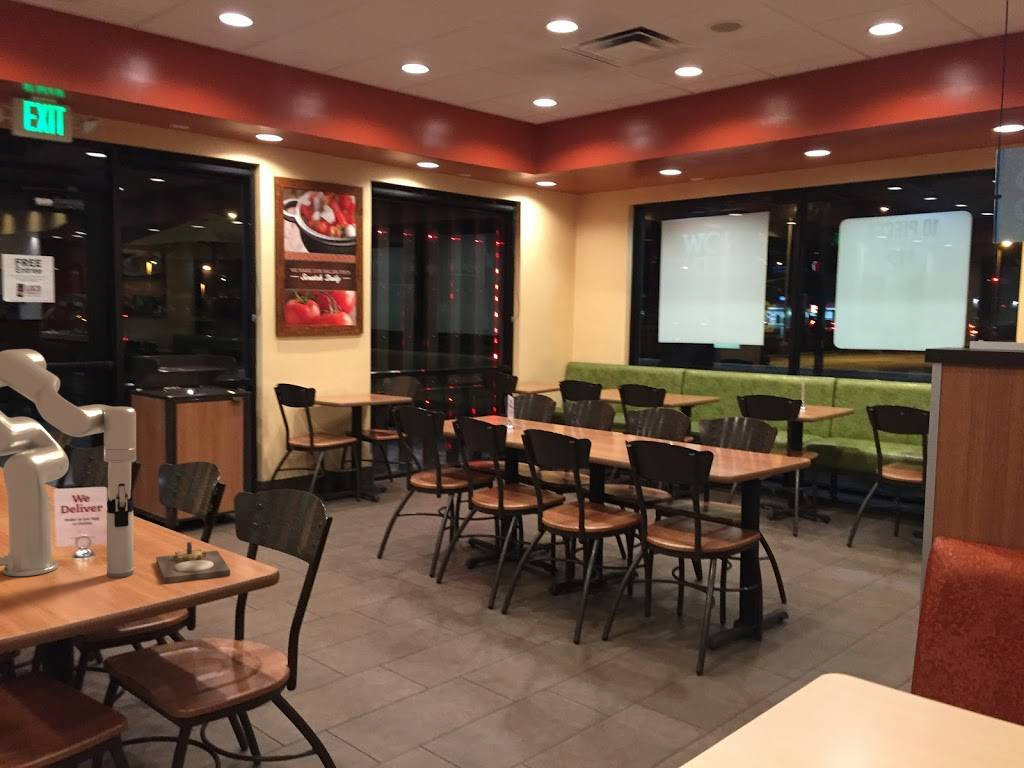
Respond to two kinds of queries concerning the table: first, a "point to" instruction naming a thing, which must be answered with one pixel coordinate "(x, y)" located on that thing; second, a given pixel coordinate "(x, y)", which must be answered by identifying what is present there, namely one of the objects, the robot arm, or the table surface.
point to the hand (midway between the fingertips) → (120, 522)
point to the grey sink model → (191, 565)
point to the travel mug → (119, 543)
